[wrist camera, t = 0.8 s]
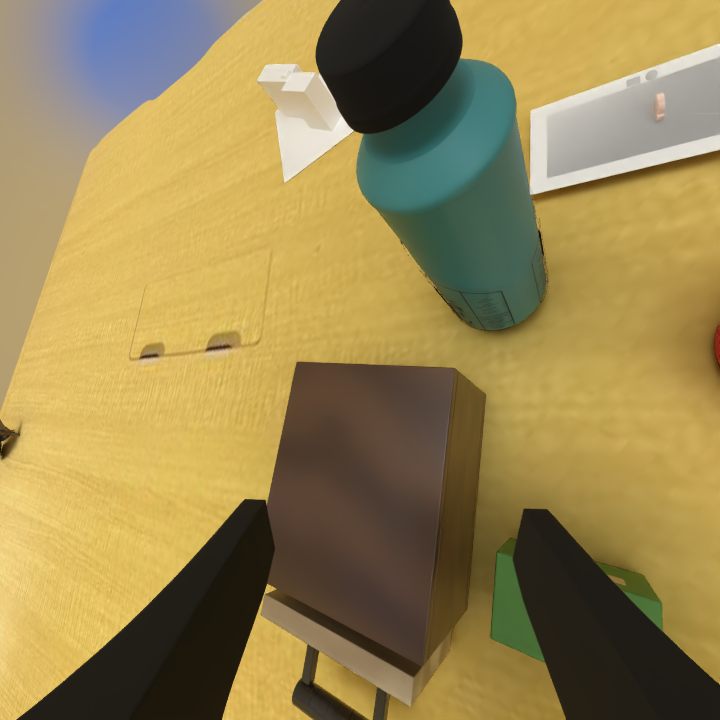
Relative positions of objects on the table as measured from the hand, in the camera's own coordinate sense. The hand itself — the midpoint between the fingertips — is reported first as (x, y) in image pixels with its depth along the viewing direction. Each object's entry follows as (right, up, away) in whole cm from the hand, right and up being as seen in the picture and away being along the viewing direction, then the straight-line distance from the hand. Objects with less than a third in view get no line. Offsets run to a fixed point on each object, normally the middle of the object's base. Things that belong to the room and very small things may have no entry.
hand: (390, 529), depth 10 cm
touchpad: (+19, +21, +14) cm, 31 cm away
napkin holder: (-7, +36, +35) cm, 51 cm away
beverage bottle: (+10, +9, +16) cm, 21 cm away
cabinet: (+2, -4, +16) cm, 17 cm away
